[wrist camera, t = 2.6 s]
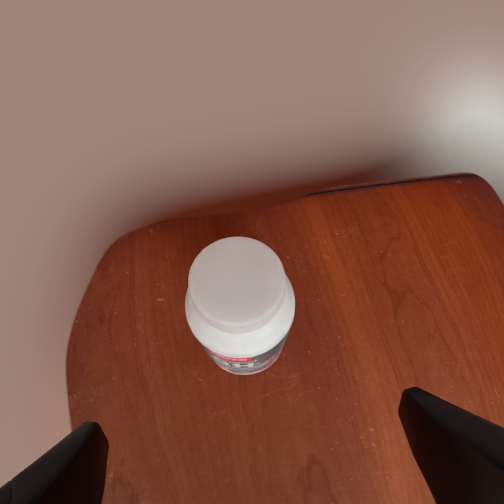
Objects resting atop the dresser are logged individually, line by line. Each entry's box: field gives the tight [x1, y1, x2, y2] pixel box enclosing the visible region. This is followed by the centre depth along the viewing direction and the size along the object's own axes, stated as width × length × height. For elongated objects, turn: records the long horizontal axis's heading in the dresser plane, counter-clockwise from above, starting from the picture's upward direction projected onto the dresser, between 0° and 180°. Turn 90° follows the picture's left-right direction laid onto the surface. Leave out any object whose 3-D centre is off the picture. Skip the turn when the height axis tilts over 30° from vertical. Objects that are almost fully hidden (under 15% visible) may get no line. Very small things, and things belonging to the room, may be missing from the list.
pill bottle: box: [185, 237, 295, 375], centre depth 17 cm, size 5×5×10 cm
